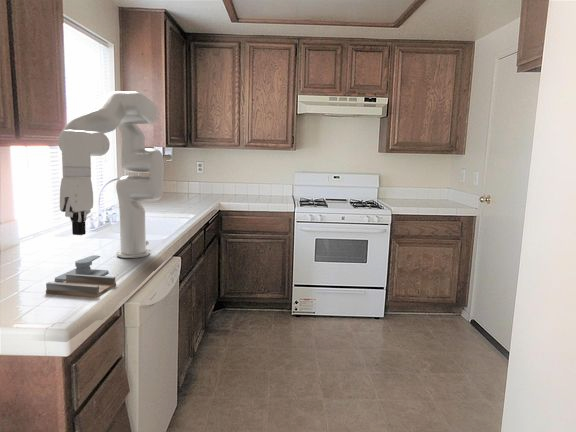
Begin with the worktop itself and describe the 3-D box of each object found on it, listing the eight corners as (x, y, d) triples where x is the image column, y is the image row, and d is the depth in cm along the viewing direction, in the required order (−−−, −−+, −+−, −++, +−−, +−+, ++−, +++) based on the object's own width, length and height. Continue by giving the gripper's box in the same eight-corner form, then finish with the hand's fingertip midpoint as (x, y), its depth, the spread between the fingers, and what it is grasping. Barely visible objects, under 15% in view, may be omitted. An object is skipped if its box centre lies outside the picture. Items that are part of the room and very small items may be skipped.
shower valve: (113, 255, 151) (88, 267, 137) (113, 270, 152) (89, 283, 138) (80, 253, 153) (52, 264, 138) (80, 268, 154) (53, 281, 139)
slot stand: (69, 282, 138) (68, 273, 138) (116, 285, 136) (115, 276, 136) (45, 293, 127) (45, 283, 127) (96, 297, 126) (96, 287, 125)
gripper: (80, 171, 134) (82, 229, 137) (47, 173, 119) (50, 238, 122) (103, 172, 133) (104, 231, 136) (73, 174, 118) (75, 239, 121)
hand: (79, 234), depth 129 cm, fingers closed
